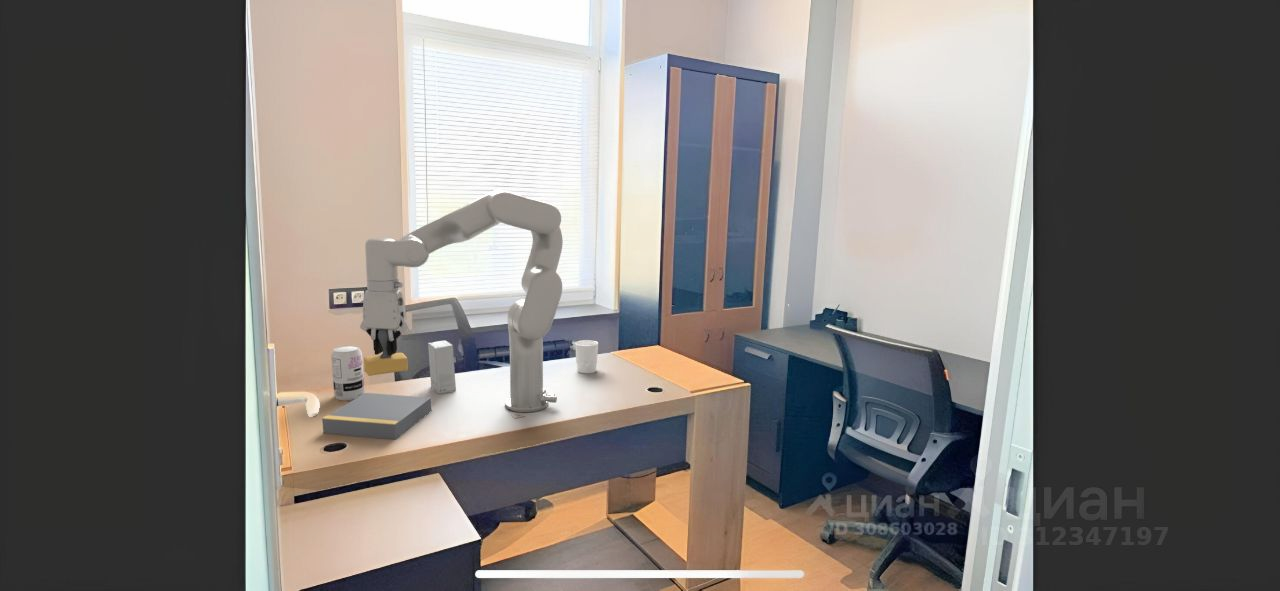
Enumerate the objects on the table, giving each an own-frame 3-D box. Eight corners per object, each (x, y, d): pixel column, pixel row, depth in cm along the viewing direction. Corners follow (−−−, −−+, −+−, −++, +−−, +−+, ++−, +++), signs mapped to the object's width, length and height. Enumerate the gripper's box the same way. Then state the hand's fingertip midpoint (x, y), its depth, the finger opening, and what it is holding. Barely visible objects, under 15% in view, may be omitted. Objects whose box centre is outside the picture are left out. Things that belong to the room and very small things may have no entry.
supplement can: (340, 392, 195) (337, 344, 192) (368, 392, 195) (365, 345, 192) (330, 401, 187) (326, 352, 184) (359, 401, 187) (355, 352, 184)
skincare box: (456, 391, 198) (454, 345, 195) (436, 394, 194) (435, 348, 192) (448, 383, 205) (446, 339, 202) (429, 386, 201) (427, 341, 198)
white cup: (596, 374, 218) (597, 346, 216) (574, 373, 218) (574, 345, 216) (598, 367, 225) (599, 340, 223) (576, 366, 225) (576, 339, 223)
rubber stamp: (402, 365, 175) (401, 322, 172) (408, 370, 170) (406, 327, 168) (364, 370, 169) (362, 326, 167) (368, 376, 164) (366, 331, 162)
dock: (431, 411, 181) (431, 397, 180) (395, 439, 162) (394, 424, 161) (366, 405, 184) (365, 392, 183) (323, 433, 164) (322, 418, 164)
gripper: (419, 285, 168) (421, 352, 171) (361, 281, 170) (364, 348, 173) (405, 290, 161) (407, 359, 164) (345, 286, 162) (348, 355, 166)
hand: (385, 353), depth 169 cm, fingers closed on rubber stamp, 3 cm apart
